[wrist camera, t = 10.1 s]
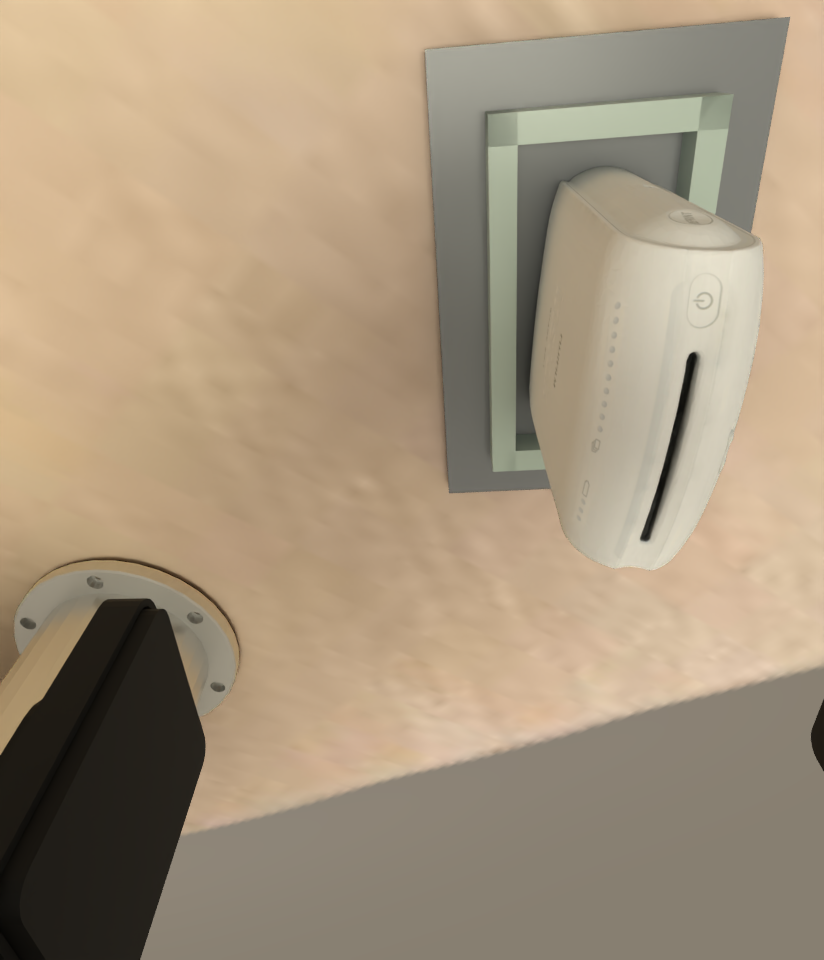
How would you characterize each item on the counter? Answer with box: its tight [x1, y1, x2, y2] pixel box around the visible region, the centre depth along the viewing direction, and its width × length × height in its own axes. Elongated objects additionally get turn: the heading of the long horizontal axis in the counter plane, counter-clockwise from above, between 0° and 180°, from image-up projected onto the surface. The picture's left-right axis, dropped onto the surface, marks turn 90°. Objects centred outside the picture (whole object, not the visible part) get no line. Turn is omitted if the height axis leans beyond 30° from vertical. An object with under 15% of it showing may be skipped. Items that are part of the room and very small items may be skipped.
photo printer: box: [529, 166, 764, 571], centre depth 22 cm, size 10×4×12 cm, turn 179°
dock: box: [425, 17, 790, 493], centre depth 27 cm, size 18×12×2 cm, turn 4°
